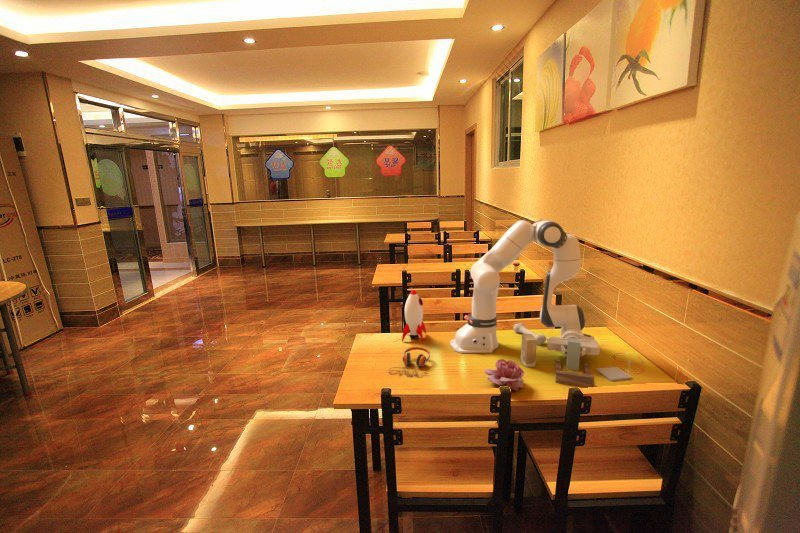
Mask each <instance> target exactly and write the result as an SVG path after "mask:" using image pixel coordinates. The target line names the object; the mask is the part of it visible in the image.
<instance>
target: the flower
mask: <svg viewBox="0 0 800 533" xmlns="http://www.w3.org/2000/svg"><path fill="white" fill-rule="evenodd" d="M494 366H495V368H496V369H491V368H487V369H484V374H485V375H488V376H487V378H486V379H487V380H488V381H489V382H491V383H492V384H494V385H499V386H502V387H505V386H508V387H510V388H509V389H511V390H514V392H515V391H516V392H518V391H519V388H520V389H524V381H525V380H524V379H523V376H524V375H525V374H526V373H525V371H524V370H523V369H522V367H520V365H519V364H518V363H517V362H516V361H513V360H512V359H509V360H506V359H504V358H502V359H501V358H500V359H497V360H496V361H495V364H494ZM508 387H507V388H508Z"/></svg>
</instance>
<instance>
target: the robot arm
mask: <svg viewBox="0 0 800 533" xmlns="http://www.w3.org/2000/svg"><path fill="white" fill-rule="evenodd" d="M533 242H535V243H537V244H539V245H541V246H544V247H548V248H551V249H552V252H553V253H552V254H553V266H551V267H552V268H551V269H550V270H549V271H547V273H546V276H545V283H544V289H543V297H542V306H541V308H540V312H539V320H540V323H541V324H542V325H543V326H544V327H547V328H554V327H560V328H561V330H560V336H549V337H546V343H547V344H546V345H547V346H546V349H548V350H549V351H555V352H562V353H563V355H567V352H568V350H567V346H568V338H578V339H580V342H581V345H580V357H584V355H589V356H599V355H600V344H599V343H598V341H597V340H596V339H595V336H593V335H590V334H587V333H583V332H582V330H584V328H585V325H586V323H585V322H586V321H585V316H584V310H583V309H582V308H581V306H579V305H577V304H565V305H564V304H561V305H558V304H557V305H556V304H555V305H554V304H553V297H554V296H553V295H554V289H555V287H556V286H558V285H559V284H561V283H563V282H566V281H568V280H570V279H573V278H574V277H575V276H577V275H578V274H579V273H580V271H581V269H582V268H581V266H582V265H581V264H582V259H581V258H582V257H581V249H580V243H579V240H578V238H577V237H576V235H574V234H573V233H566V232H565V231H564V229H563V227H562V226H561V225H560V224H558V222H555V221H553V220H549V219H541V220H539V219H538V220H537V221H535V222H529V221H528V220H524V219H521V220H520V219H519V220H517V221H516V222H515V223H514V224H512V226H511V227H510V228H508V230H506V231H505V232H504V234H503V235H502V236H501V237H500V239H498V241H497V242H496V243H495V244H494V245H493V246H492V247H491V249H490V250H488V251H486V253H485V254H484V255H483V256H481V257H480V258H479V259H478V260H477V261H475V262H474V263H473V264H472V266H471V268H470V277H471V280H473V292H472V298H471V315H470V316H469V315H467V314H465V315H464V317H463V318H464V319H465V321H467V323H466V324H464V325H463V326H462V327H460V328H459V329H457V330H456V332H455V335H454V336H455V337H454V339H453V338H452V339H451V340H450V342H449V344H450V345H449V346H450V347H451V348H452V350H454V351H455V352H457V353H460V354H477V353H479V354H480V353H481V354H482V353H485V354H486V353H487V354H488V353H493V352H494V350H496V349H497V348H498V347H499V345H500V344H499V342H498V336H497V335H498V334H497V326H498V322H497V321H498V320H497V319H498V317H497V298H498V293H499V288H500V285H501V284H500V283H501V277H500V272H501V271H503V270H504V269H505V268H506V267H508V266H510V265H512V264H513V262H514V261H515V260H516V259H517V258H518V257H519V256H520V255H521V253H522V252H524V250H525V249H526V248H527V246H528V245H530V244H531V243H533Z"/></svg>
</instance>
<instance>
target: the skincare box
mask: <svg viewBox="0 0 800 533" xmlns="http://www.w3.org/2000/svg"><path fill="white" fill-rule="evenodd" d="M520 346H521V347H520V348H521V349H520V363H522V364H523V365H524V367H525V368H529V367H530V368H531V367H532V368H533V367H536V361H537V348H538V345H537V339H536V338H535V337H534V336H533V335H532V334H523V333H522V334H521V345H520Z"/></svg>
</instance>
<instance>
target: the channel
mask: <svg viewBox="0 0 800 533" xmlns="http://www.w3.org/2000/svg"><path fill="white" fill-rule="evenodd" d="M554 363H555V365H554V366H555V383H557V382H560V383H559V384H564V383H567V384H566V385H573V386H578V385H581V386H580V387H585V386H588V387H587V388H593V387H594V382H595V376H594V374H592V373H591V372H592V371H591V368H590V367H591V366H590V363H583V368H584V369H583V370H584V373H578V372H575V371H564V370H562V366H561V365H562V364H561V360H559V359H558V360H557V359H555V362H554ZM592 386H593V387H592Z"/></svg>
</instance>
